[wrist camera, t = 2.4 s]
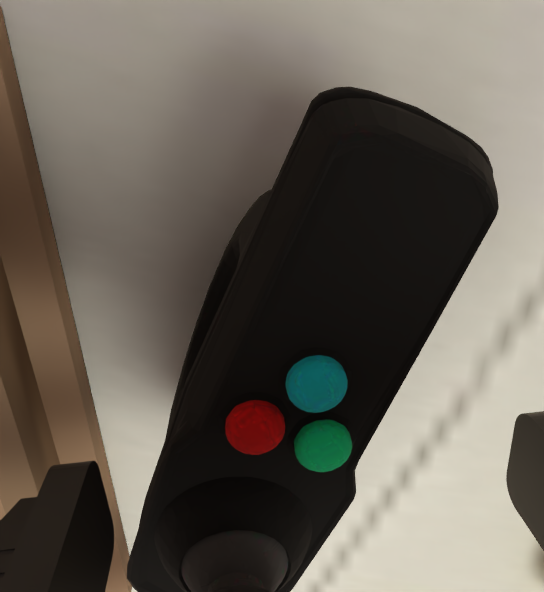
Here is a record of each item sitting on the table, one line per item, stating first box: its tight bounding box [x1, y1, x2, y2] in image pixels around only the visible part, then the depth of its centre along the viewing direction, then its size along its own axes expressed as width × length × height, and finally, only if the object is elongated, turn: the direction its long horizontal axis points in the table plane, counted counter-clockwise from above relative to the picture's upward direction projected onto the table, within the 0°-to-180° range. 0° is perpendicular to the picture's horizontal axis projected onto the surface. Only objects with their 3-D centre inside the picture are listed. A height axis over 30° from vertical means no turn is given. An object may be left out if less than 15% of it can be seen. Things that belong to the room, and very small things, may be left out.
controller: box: [127, 87, 498, 592], centre depth 13 cm, size 4×12×10 cm, turn 158°
